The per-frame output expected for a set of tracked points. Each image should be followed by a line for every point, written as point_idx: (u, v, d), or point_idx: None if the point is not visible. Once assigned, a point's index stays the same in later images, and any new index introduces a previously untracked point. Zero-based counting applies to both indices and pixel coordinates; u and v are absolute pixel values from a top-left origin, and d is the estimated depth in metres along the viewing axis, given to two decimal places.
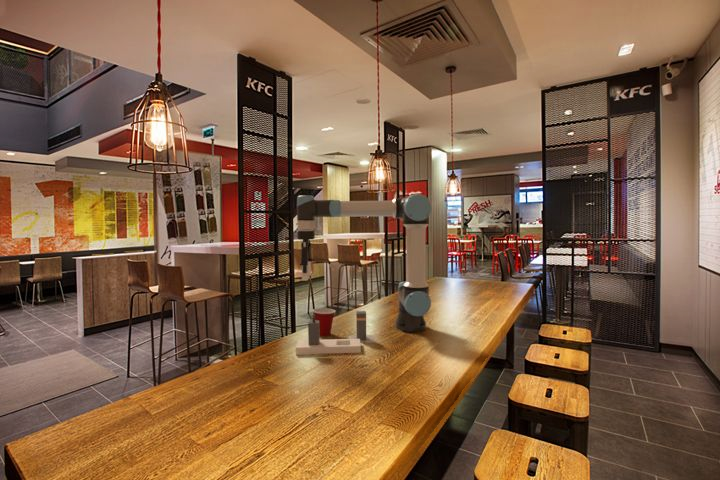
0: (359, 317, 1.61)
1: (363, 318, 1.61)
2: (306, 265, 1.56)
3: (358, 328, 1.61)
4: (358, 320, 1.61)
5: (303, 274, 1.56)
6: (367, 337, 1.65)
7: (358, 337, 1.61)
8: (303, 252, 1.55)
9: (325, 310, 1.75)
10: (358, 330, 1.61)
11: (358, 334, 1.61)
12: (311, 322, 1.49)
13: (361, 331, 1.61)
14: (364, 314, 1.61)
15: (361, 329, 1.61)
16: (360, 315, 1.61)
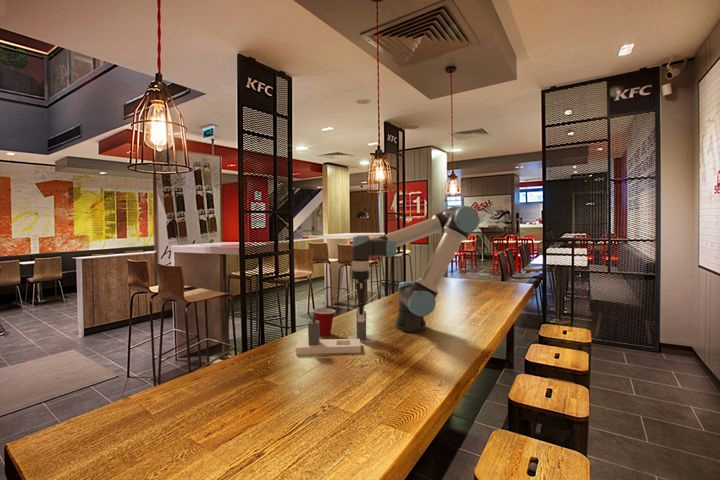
0: None
1: None
2: (362, 306, 1.55)
3: (358, 328, 1.61)
4: None
5: (359, 315, 1.55)
6: (367, 337, 1.65)
7: (358, 337, 1.61)
8: (360, 294, 1.54)
9: (325, 310, 1.75)
10: (358, 330, 1.61)
11: (358, 334, 1.61)
12: (311, 322, 1.49)
13: (361, 331, 1.61)
14: (364, 314, 1.61)
15: (361, 329, 1.61)
16: None
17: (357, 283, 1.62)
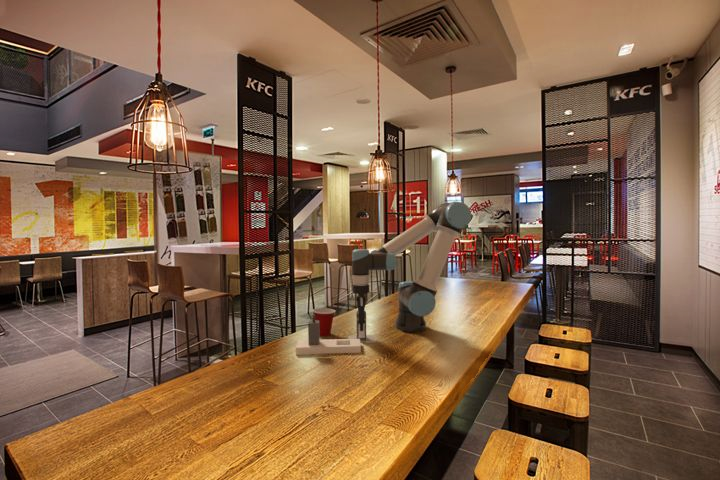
0: None
1: None
2: (363, 323, 1.60)
3: None
4: (358, 320, 1.61)
5: (360, 332, 1.60)
6: (367, 337, 1.65)
7: (358, 337, 1.61)
8: (360, 311, 1.57)
9: (325, 310, 1.75)
10: None
11: (358, 334, 1.61)
12: (311, 322, 1.49)
13: None
14: None
15: None
16: None
17: (357, 296, 1.63)
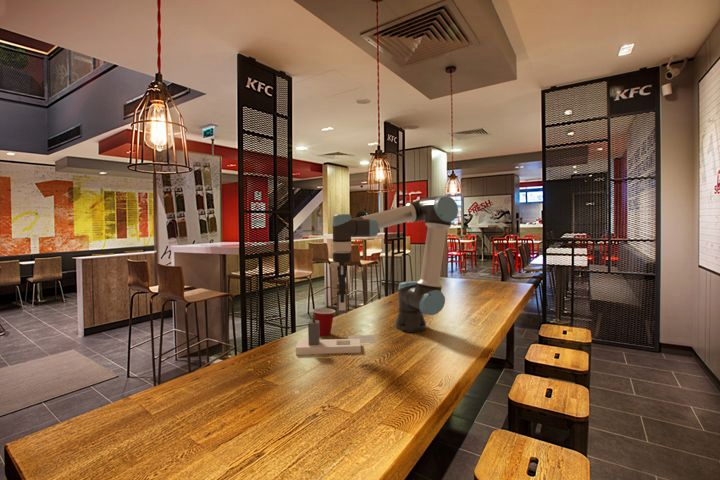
0: None
1: None
2: None
3: (338, 300, 1.48)
4: (338, 291, 1.47)
5: (340, 303, 1.47)
6: (367, 337, 1.65)
7: (338, 309, 1.48)
8: (341, 281, 1.43)
9: (325, 310, 1.75)
10: (338, 302, 1.48)
11: (338, 306, 1.48)
12: (311, 322, 1.49)
13: None
14: (345, 284, 1.47)
15: None
16: None
17: (338, 266, 1.50)
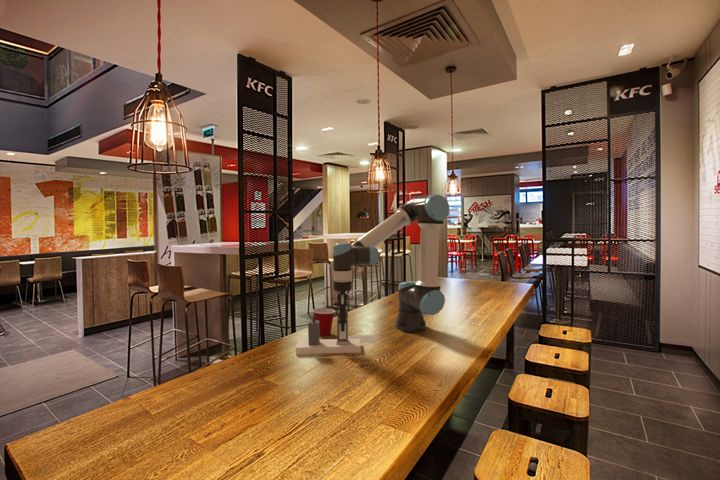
0: None
1: None
2: (344, 323, 1.48)
3: None
4: (339, 320, 1.48)
5: (341, 332, 1.48)
6: (367, 337, 1.65)
7: (339, 338, 1.49)
8: (341, 310, 1.44)
9: (325, 310, 1.75)
10: None
11: (339, 335, 1.48)
12: (311, 322, 1.49)
13: None
14: None
15: None
16: None
17: (339, 294, 1.51)
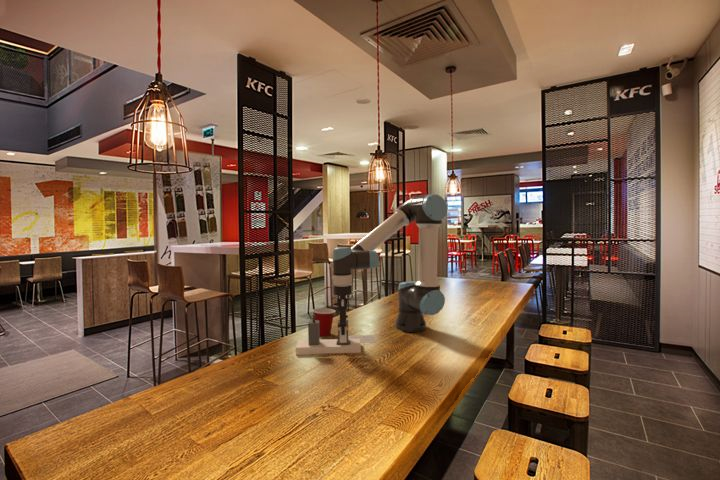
0: None
1: None
2: (344, 326, 1.44)
3: (339, 338, 1.49)
4: (339, 330, 1.48)
5: (341, 336, 1.45)
6: (367, 337, 1.65)
7: None
8: (341, 313, 1.43)
9: (325, 310, 1.75)
10: (339, 340, 1.49)
11: None
12: (311, 322, 1.49)
13: None
14: (346, 323, 1.48)
15: None
16: None
17: (339, 299, 1.51)
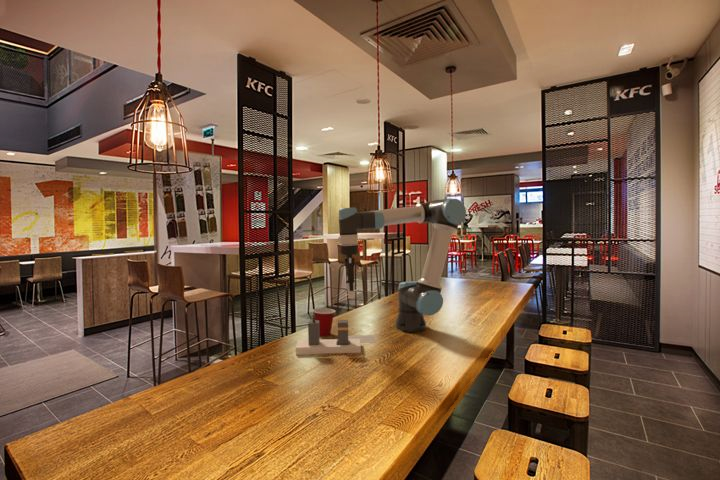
0: (340, 326, 1.48)
1: (345, 328, 1.48)
2: None
3: (339, 338, 1.49)
4: (339, 330, 1.48)
5: (349, 292, 1.47)
6: (367, 337, 1.65)
7: None
8: (349, 269, 1.45)
9: (325, 310, 1.75)
10: (339, 340, 1.49)
11: None
12: (311, 322, 1.49)
13: (342, 341, 1.49)
14: (346, 323, 1.48)
15: (343, 340, 1.49)
16: (341, 324, 1.48)
17: (346, 259, 1.54)
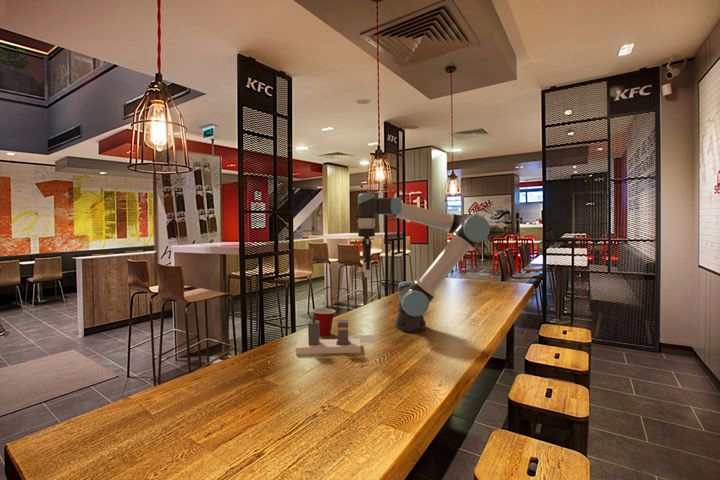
0: (340, 326, 1.48)
1: (345, 327, 1.48)
2: None
3: (339, 338, 1.49)
4: (339, 330, 1.48)
5: (366, 271, 1.58)
6: (367, 337, 1.65)
7: None
8: (367, 249, 1.57)
9: (325, 310, 1.75)
10: (339, 340, 1.49)
11: None
12: (311, 322, 1.49)
13: (342, 341, 1.49)
14: (346, 323, 1.48)
15: (343, 340, 1.49)
16: (341, 324, 1.48)
17: None
